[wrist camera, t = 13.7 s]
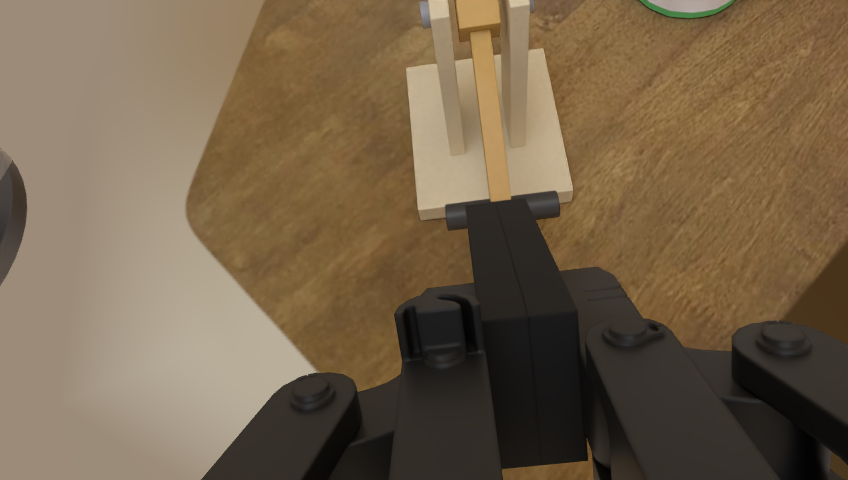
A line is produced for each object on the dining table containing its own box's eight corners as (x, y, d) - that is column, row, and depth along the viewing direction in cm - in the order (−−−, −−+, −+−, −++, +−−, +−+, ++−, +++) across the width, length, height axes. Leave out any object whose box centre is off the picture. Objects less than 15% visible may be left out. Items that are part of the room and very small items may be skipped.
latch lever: (556, 217, 36) (562, 216, 33) (448, 230, 36) (447, 230, 34) (527, -19, 36) (531, -37, 33) (419, -3, 36) (416, -19, 34)
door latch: (571, 202, 42) (596, 55, 30) (420, 221, 43) (384, 85, 31) (542, 61, 48) (553, -111, 35) (408, 81, 48) (373, -82, 36)
